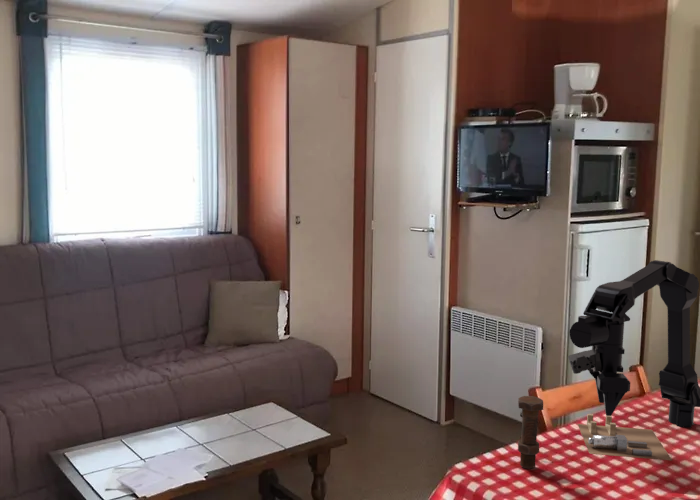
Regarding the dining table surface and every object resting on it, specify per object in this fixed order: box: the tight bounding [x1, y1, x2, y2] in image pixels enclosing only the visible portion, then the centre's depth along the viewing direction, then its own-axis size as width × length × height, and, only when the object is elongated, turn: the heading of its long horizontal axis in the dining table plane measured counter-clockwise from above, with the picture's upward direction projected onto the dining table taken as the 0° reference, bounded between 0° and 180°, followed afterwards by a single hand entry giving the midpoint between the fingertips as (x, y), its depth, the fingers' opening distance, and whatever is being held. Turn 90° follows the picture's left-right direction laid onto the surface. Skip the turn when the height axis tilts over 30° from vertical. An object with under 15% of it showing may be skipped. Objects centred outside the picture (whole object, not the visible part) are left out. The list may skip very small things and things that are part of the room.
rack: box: [586, 413, 617, 436], centre depth 170 cm, size 6×6×3 cm
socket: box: [627, 441, 652, 456], centre depth 159 cm, size 6×4×1 cm
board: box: [577, 423, 673, 461], centre depth 164 cm, size 18×18×1 cm
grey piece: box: [588, 435, 627, 452], centre depth 160 cm, size 8×3×3 cm, turn 81°
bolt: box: [517, 395, 544, 470], centre depth 150 cm, size 6×5×15 cm
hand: (604, 408), depth 159 cm, fingers open, 8 cm apart
